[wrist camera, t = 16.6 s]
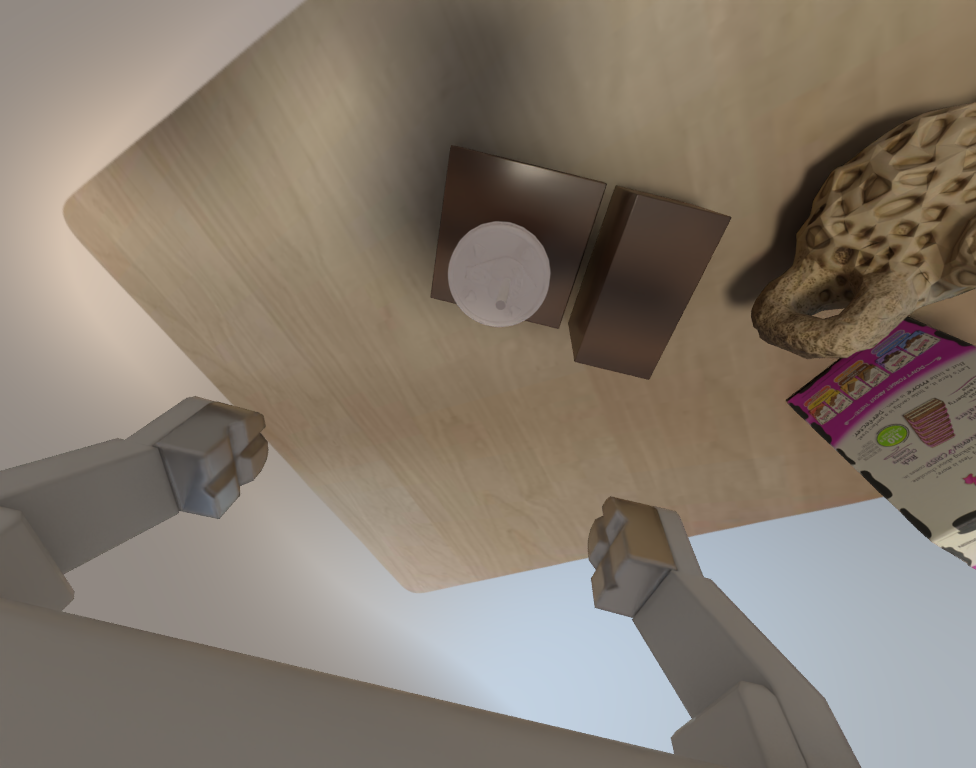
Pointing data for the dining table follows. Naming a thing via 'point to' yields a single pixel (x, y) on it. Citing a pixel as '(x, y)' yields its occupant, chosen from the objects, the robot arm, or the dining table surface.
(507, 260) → the smoothie
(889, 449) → the candy bar box
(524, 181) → the step shelf
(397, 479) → the dining table surface
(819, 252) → the teapot
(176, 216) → the dining table surface
